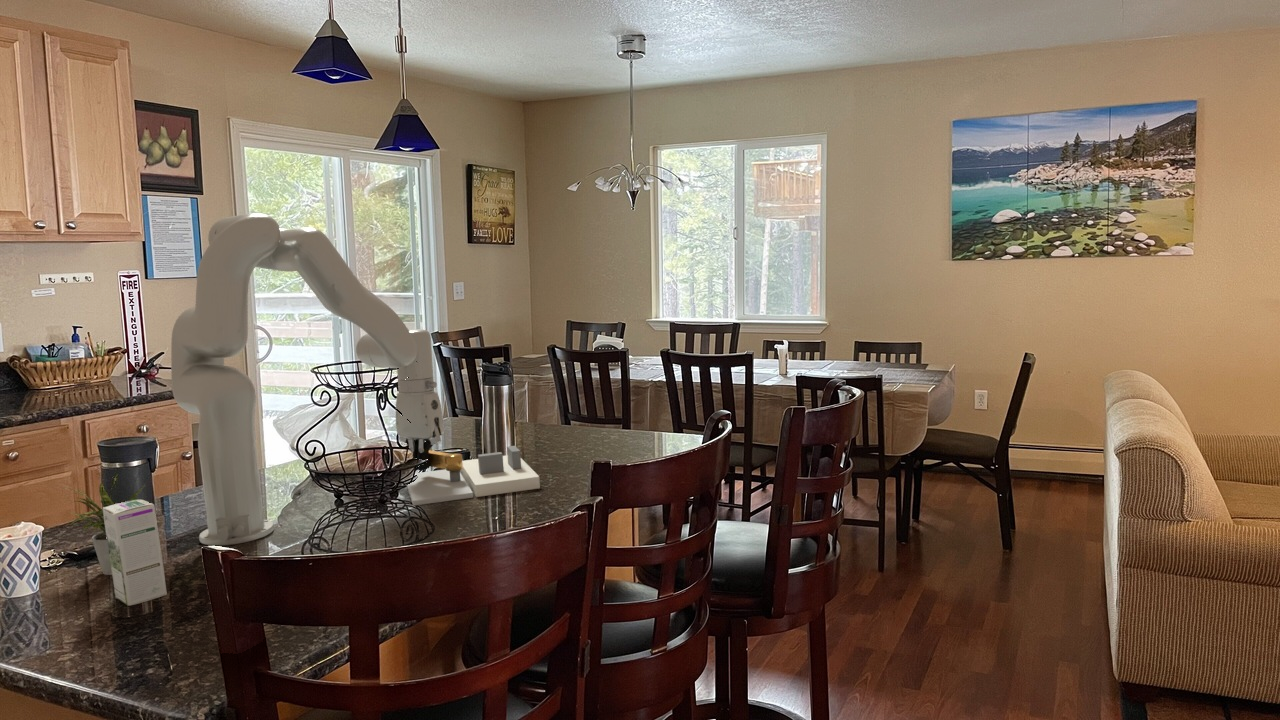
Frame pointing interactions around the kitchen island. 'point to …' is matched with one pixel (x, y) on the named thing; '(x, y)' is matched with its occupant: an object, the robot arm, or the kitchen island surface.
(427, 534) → the kitchen island surface
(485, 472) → the door mock-up
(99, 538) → the house plant
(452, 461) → the latch bar
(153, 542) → the syrup box
